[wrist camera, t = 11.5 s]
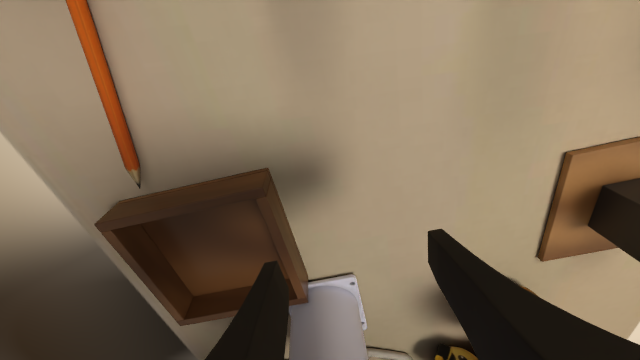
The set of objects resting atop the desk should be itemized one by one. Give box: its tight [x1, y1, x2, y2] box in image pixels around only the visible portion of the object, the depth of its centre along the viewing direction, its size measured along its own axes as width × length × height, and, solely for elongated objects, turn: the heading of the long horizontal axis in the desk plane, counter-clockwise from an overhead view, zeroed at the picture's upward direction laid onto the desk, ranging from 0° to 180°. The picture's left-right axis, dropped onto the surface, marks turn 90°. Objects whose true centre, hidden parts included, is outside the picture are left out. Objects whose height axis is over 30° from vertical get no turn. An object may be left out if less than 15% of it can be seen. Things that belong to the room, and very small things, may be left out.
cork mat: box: [538, 137, 640, 262], centre depth 23 cm, size 12×11×1 cm
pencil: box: [66, 0, 140, 188], centre depth 15 cm, size 1×19×1 cm, turn 178°
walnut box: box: [94, 168, 308, 326], centre depth 22 cm, size 13×13×3 cm
